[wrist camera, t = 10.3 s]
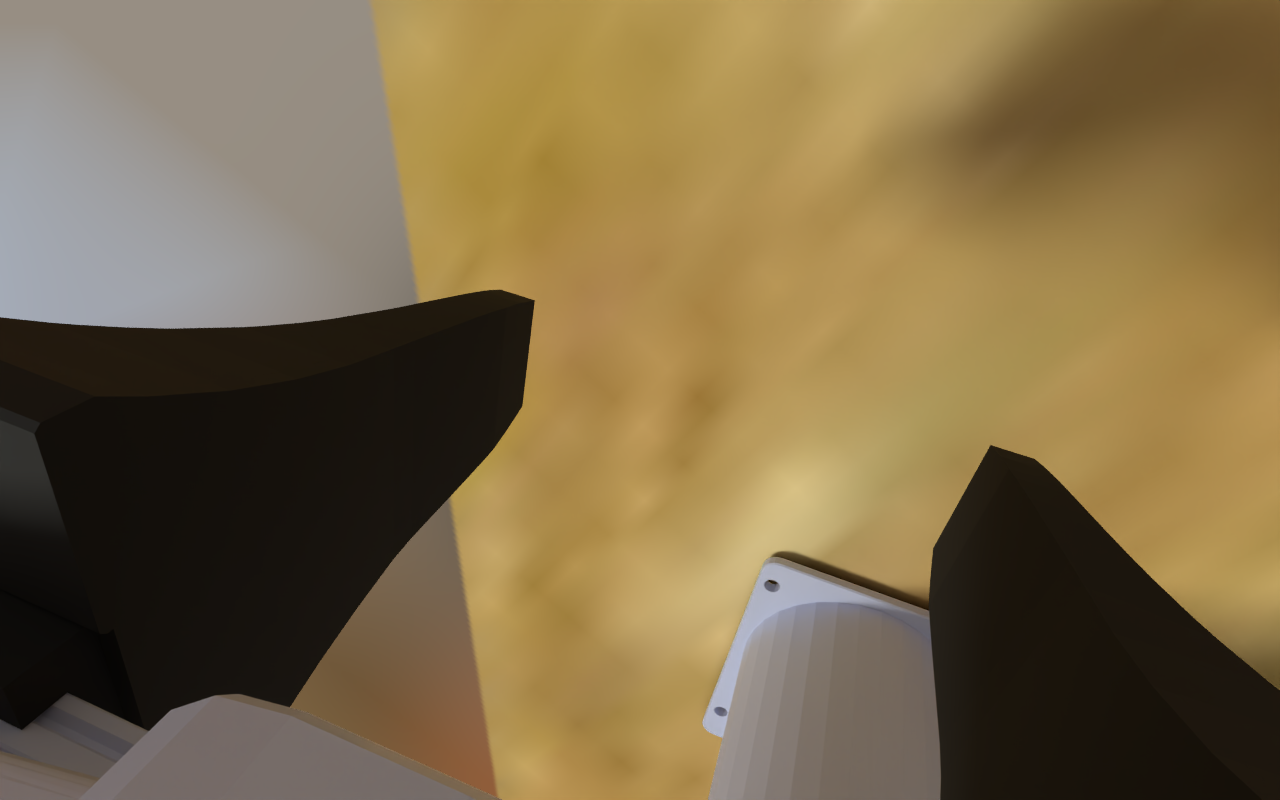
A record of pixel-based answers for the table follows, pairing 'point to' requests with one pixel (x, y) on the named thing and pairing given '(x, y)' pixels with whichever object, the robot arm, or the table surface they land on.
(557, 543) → the table surface
